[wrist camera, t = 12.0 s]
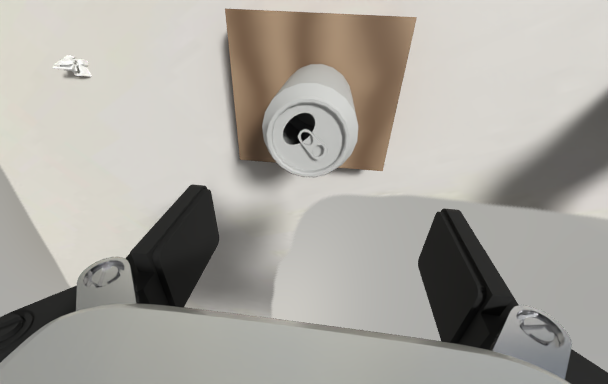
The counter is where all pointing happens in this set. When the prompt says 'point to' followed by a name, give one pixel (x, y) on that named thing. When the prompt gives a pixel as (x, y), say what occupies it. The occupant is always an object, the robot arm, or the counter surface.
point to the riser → (318, 50)
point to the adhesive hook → (73, 65)
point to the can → (311, 122)
